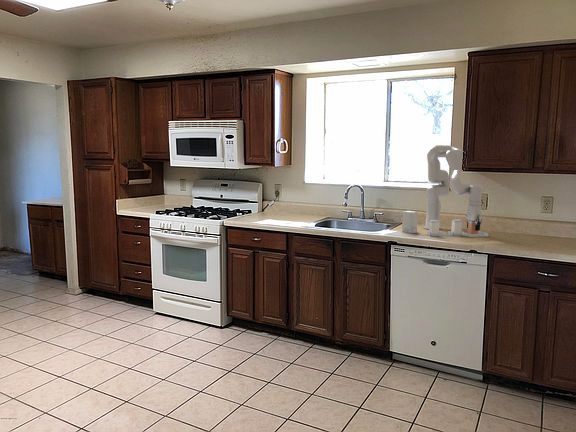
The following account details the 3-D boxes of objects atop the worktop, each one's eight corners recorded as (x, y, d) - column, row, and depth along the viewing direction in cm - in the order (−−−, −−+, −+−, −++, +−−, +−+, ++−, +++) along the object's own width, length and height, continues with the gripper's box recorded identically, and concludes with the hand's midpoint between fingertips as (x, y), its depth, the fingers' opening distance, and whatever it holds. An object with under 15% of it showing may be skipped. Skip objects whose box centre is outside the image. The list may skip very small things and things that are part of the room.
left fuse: (428, 235, 305) (429, 220, 303) (435, 234, 306) (436, 219, 304) (431, 236, 301) (432, 221, 299) (438, 236, 302) (439, 220, 300)
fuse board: (424, 236, 308) (424, 230, 307) (457, 235, 312) (458, 229, 311) (431, 239, 298) (431, 233, 297) (465, 238, 302) (466, 232, 301)
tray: (457, 235, 314) (458, 230, 313) (476, 234, 316) (476, 230, 315) (468, 239, 300) (469, 234, 300) (488, 238, 303) (488, 234, 302)
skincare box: (417, 234, 314) (418, 211, 312) (410, 235, 311) (411, 212, 309) (408, 232, 322) (409, 210, 319) (401, 233, 318) (402, 210, 316)
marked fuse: (467, 235, 310) (468, 220, 308) (474, 235, 310) (475, 220, 309) (470, 236, 306) (471, 221, 304) (477, 236, 307) (478, 221, 305)
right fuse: (451, 234, 307) (452, 219, 306) (458, 234, 308) (459, 219, 307) (454, 235, 303) (455, 220, 302) (461, 235, 304) (462, 220, 303)
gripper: (462, 202, 313) (461, 227, 315) (477, 205, 296) (475, 231, 298) (472, 201, 314) (471, 226, 316) (487, 205, 297) (486, 231, 299)
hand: (473, 229), depth 307 cm, fingers open, 9 cm apart
